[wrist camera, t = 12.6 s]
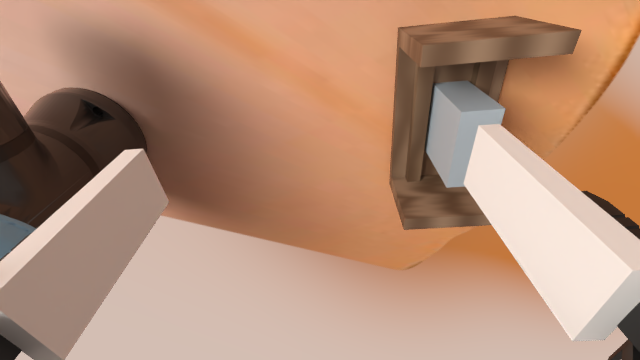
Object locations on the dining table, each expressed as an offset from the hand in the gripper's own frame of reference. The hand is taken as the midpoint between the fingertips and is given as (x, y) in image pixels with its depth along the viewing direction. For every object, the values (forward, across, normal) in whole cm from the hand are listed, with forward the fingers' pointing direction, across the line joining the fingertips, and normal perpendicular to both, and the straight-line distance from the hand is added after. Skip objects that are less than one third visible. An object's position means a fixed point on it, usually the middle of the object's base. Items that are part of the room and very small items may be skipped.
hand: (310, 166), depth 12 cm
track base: (+30, +17, -12) cm, 37 cm away
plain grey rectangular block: (+29, +17, -12) cm, 36 cm away
